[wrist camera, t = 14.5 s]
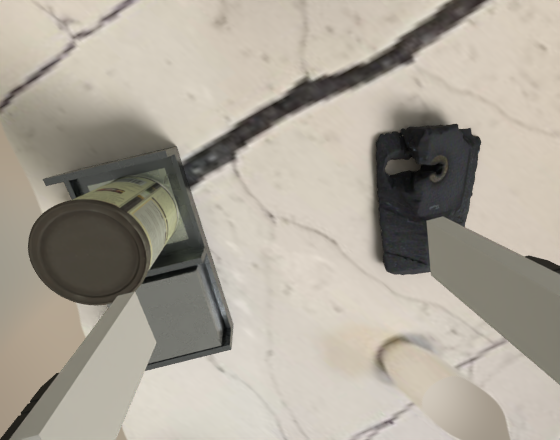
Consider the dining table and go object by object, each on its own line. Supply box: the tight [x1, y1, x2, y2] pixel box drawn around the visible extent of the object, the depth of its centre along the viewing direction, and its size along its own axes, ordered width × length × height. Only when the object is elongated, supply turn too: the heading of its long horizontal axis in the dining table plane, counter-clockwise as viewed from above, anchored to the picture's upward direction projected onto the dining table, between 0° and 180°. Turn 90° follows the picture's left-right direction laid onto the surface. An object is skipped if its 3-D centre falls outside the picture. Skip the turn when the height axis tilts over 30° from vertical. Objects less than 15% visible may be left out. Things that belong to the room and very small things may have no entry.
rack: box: [43, 146, 233, 371], centre depth 43 cm, size 28×15×6 cm, turn 12°
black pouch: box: [376, 124, 481, 275], centre depth 45 cm, size 15×22×5 cm
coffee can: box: [28, 175, 179, 305], centre depth 35 cm, size 10×10×14 cm
